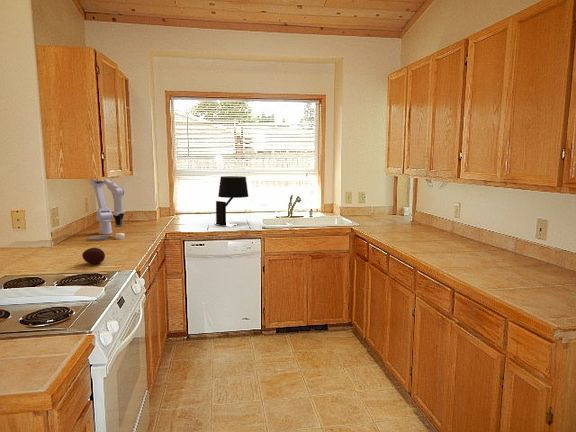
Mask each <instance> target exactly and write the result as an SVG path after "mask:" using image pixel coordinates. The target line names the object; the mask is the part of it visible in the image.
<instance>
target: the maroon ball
mask: <svg viewBox="0 0 576 432" xmlns="http://www.w3.org/2000/svg"><path fill="white" fill-rule="evenodd" d="M81 256H82V258H83V260H84V262H87V263H88V264H94V265H95V264H100V263H102V262H104V260H105V258H106V254H105V252H104V251H103V250H102V249H101V248H99V247H91V248H88V249H85V250H84V251H83V252H82V255H81Z"/></svg>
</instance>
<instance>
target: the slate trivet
mask: <svg viewBox="0 0 576 432" xmlns="http://www.w3.org/2000/svg"><path fill="white" fill-rule="evenodd" d="M109 238H111V235H91V236H89V237H88V238H87V239H86V242H87V241H106V240H108V239H109Z"/></svg>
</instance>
